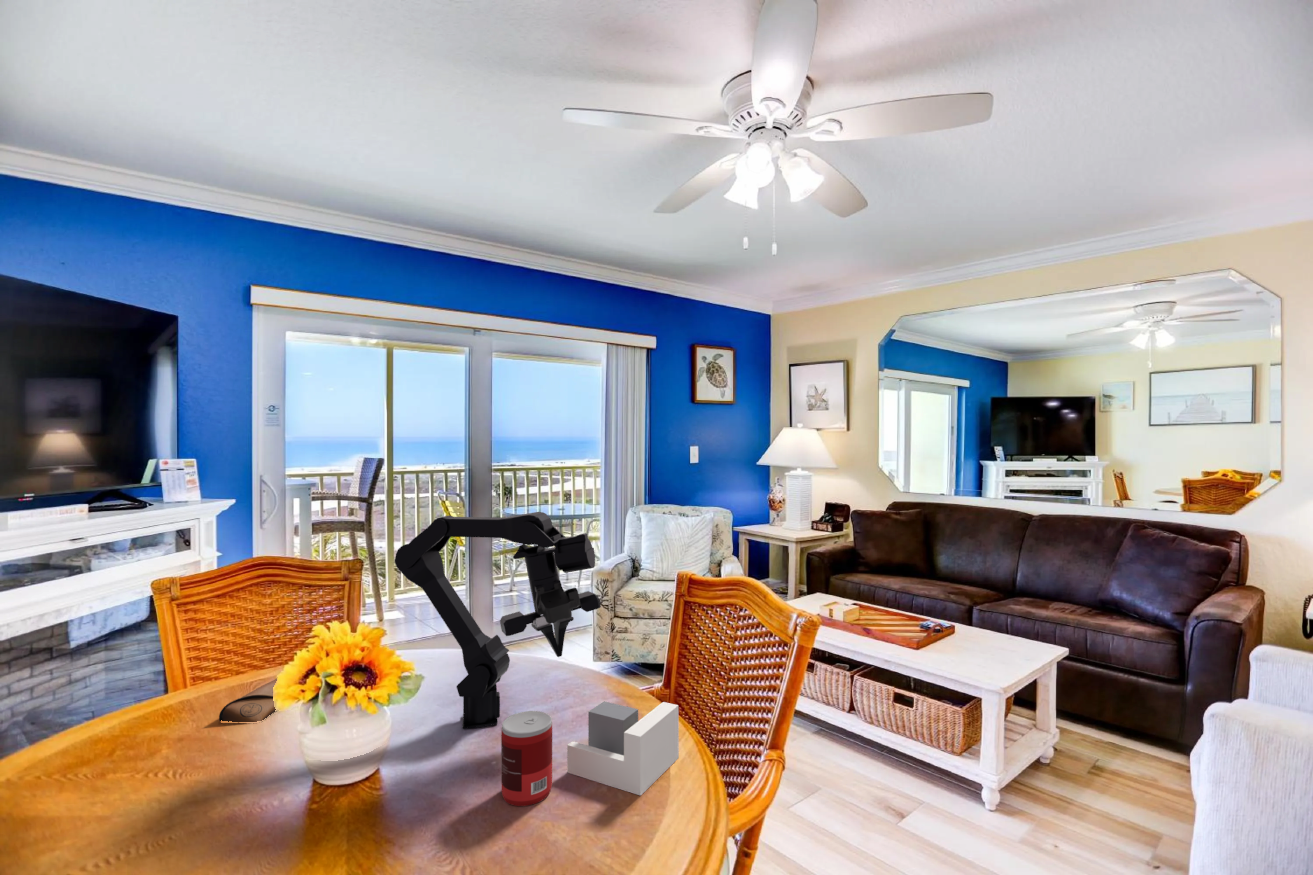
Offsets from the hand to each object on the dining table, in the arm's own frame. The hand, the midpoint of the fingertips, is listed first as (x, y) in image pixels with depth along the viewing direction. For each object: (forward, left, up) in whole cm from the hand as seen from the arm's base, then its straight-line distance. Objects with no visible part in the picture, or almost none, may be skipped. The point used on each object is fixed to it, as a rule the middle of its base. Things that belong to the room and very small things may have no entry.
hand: (559, 656), depth 118 cm
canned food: (-8, -22, -13) cm, 27 cm away
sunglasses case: (-57, +27, -14) cm, 64 cm away
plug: (+8, -18, -13) cm, 23 cm away
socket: (+8, -18, -13) cm, 24 cm away
